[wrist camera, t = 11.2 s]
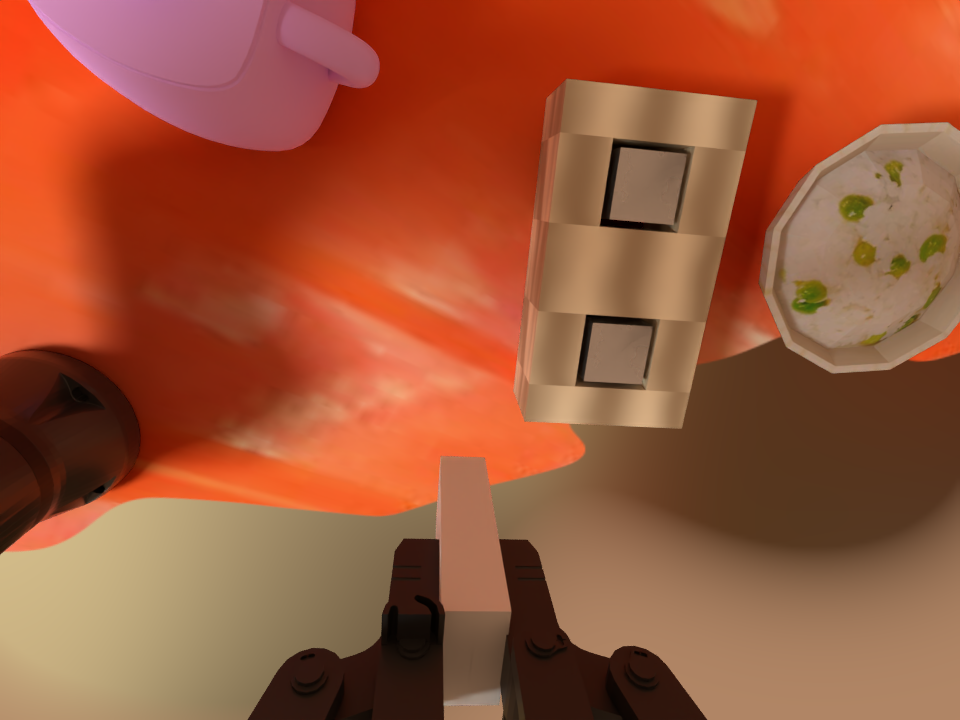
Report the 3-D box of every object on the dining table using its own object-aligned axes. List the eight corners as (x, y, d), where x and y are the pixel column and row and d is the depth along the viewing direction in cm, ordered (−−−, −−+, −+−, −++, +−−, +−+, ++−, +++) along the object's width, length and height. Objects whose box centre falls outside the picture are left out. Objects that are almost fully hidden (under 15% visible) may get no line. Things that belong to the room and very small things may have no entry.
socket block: (513, 390, 49) (524, 421, 42) (546, 98, 41) (566, 78, 34) (649, 397, 50) (681, 428, 43) (707, 115, 42) (757, 100, 35)
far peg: (565, 357, 47) (583, 381, 41) (572, 305, 46) (593, 322, 39) (615, 360, 48) (641, 384, 41) (624, 309, 46) (653, 326, 40)
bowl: (849, 361, 50) (944, 399, 41) (676, 324, 48) (734, 355, 38) (942, 163, 45) (1077, 154, 35) (751, 108, 42) (841, 82, 33)
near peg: (585, 216, 43) (609, 219, 37) (594, 154, 42) (620, 147, 35) (640, 220, 44) (673, 224, 37) (651, 160, 42) (687, 154, 36)
